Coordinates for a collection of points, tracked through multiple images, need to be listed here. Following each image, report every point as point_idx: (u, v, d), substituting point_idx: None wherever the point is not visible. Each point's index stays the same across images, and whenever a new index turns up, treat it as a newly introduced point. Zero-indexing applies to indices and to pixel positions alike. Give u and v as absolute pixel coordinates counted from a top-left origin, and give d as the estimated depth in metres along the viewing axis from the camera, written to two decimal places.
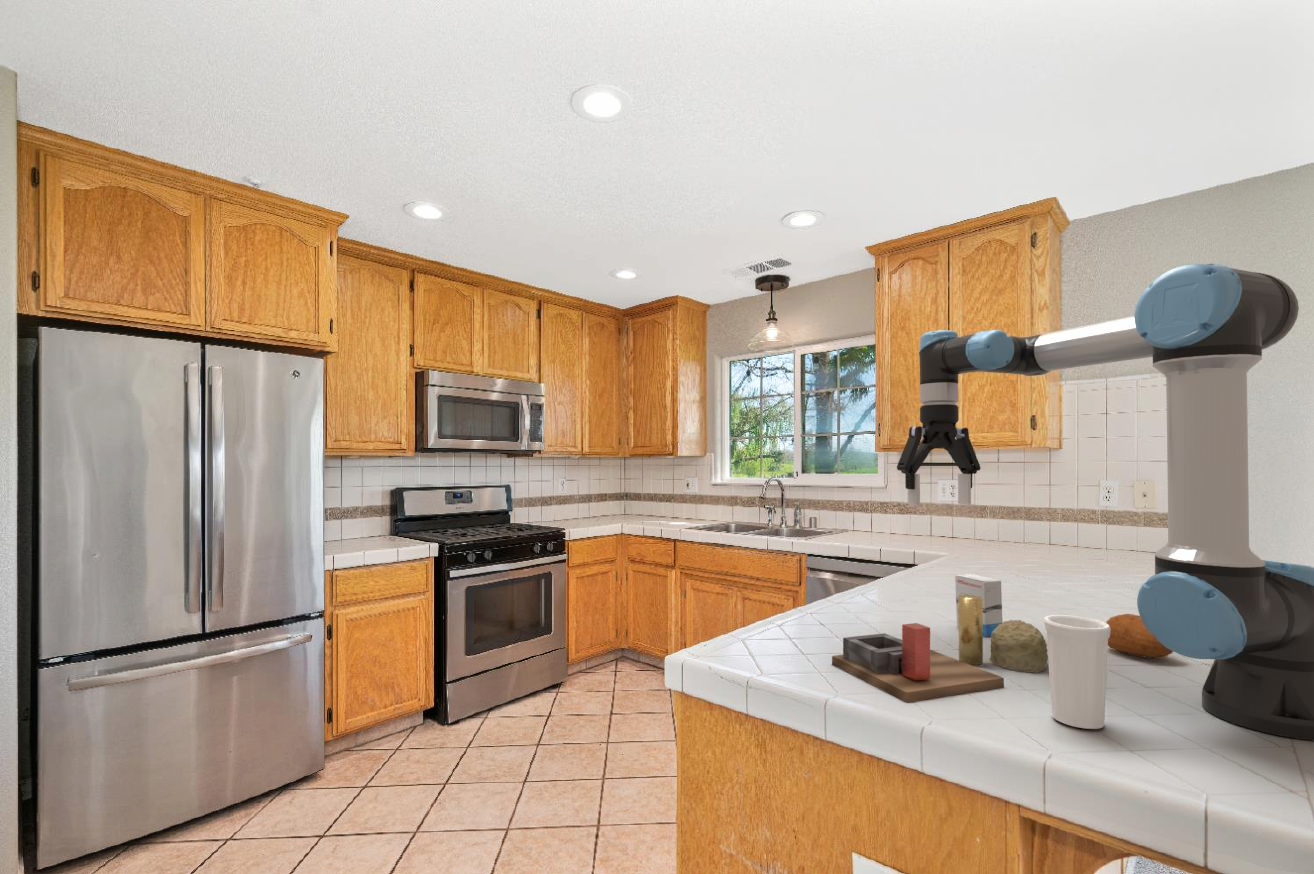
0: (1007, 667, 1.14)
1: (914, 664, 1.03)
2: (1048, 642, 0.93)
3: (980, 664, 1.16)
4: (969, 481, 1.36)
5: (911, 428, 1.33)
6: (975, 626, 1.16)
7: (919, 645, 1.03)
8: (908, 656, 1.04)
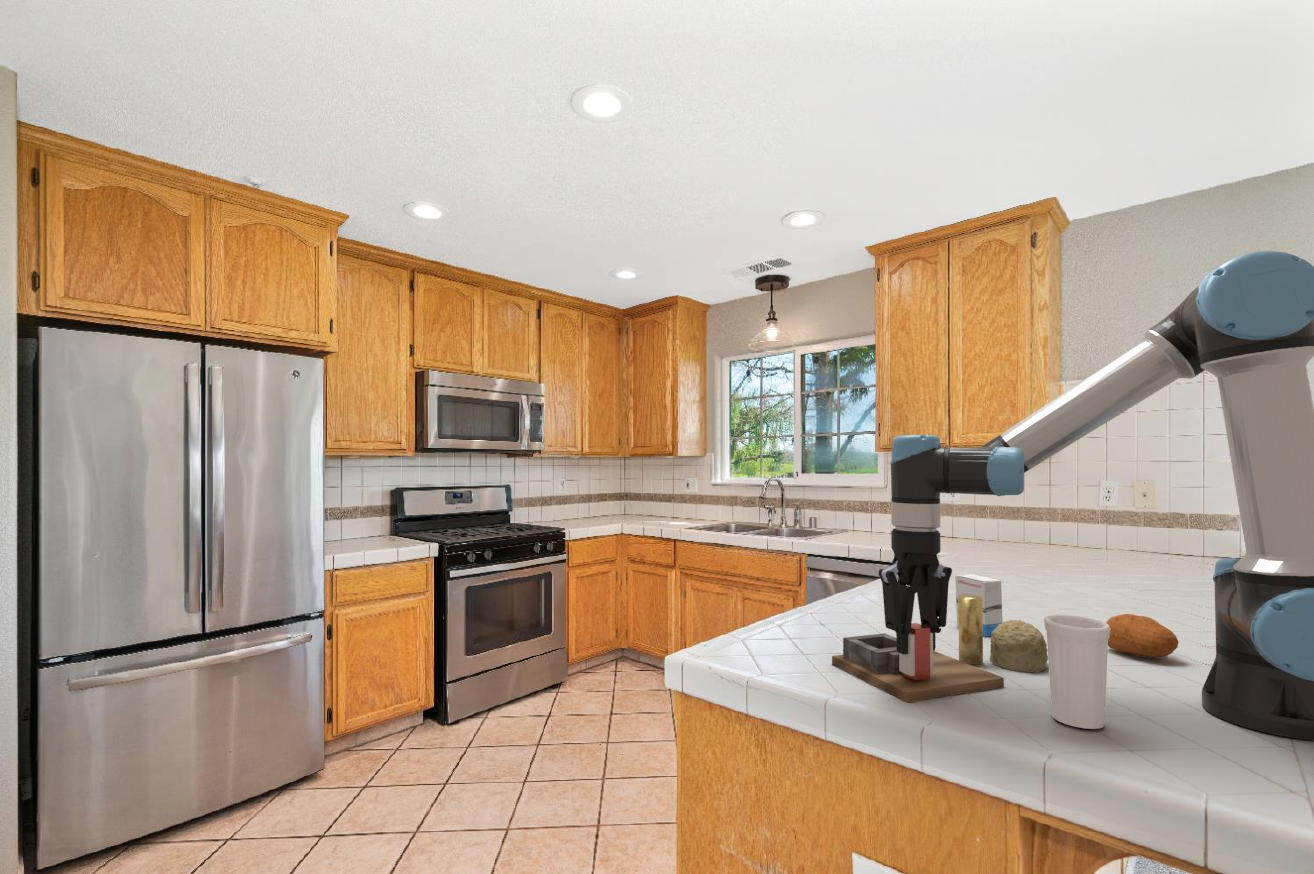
0: (1007, 667, 1.14)
1: None
2: (1048, 642, 0.93)
3: (980, 664, 1.16)
4: (931, 643, 1.04)
5: (880, 573, 1.03)
6: (975, 626, 1.16)
7: (919, 645, 1.03)
8: None
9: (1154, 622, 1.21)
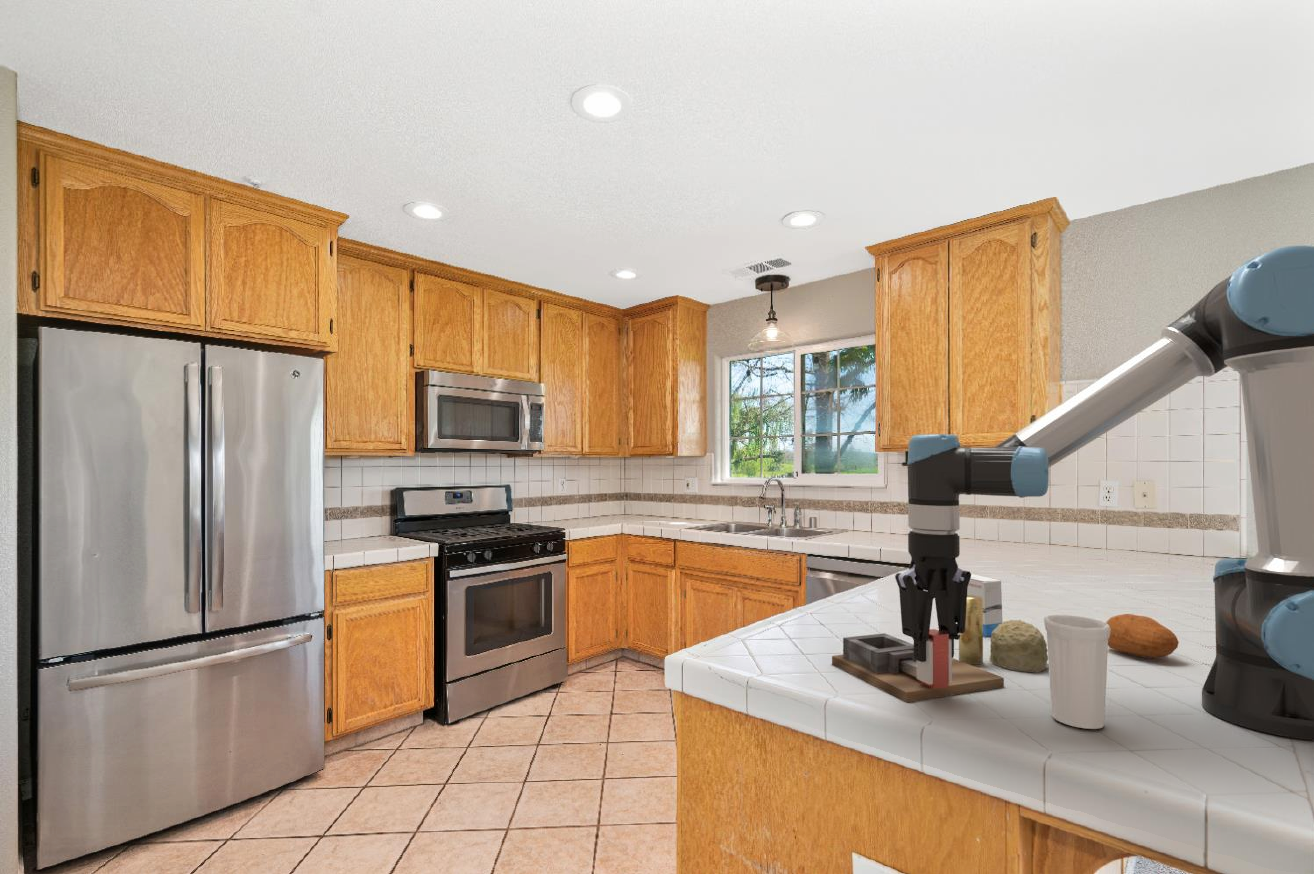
0: (1007, 667, 1.14)
1: None
2: (1048, 642, 0.93)
3: (980, 664, 1.16)
4: (949, 650, 1.00)
5: (897, 578, 0.99)
6: (975, 626, 1.16)
7: (938, 652, 0.99)
8: None
9: (1154, 622, 1.21)
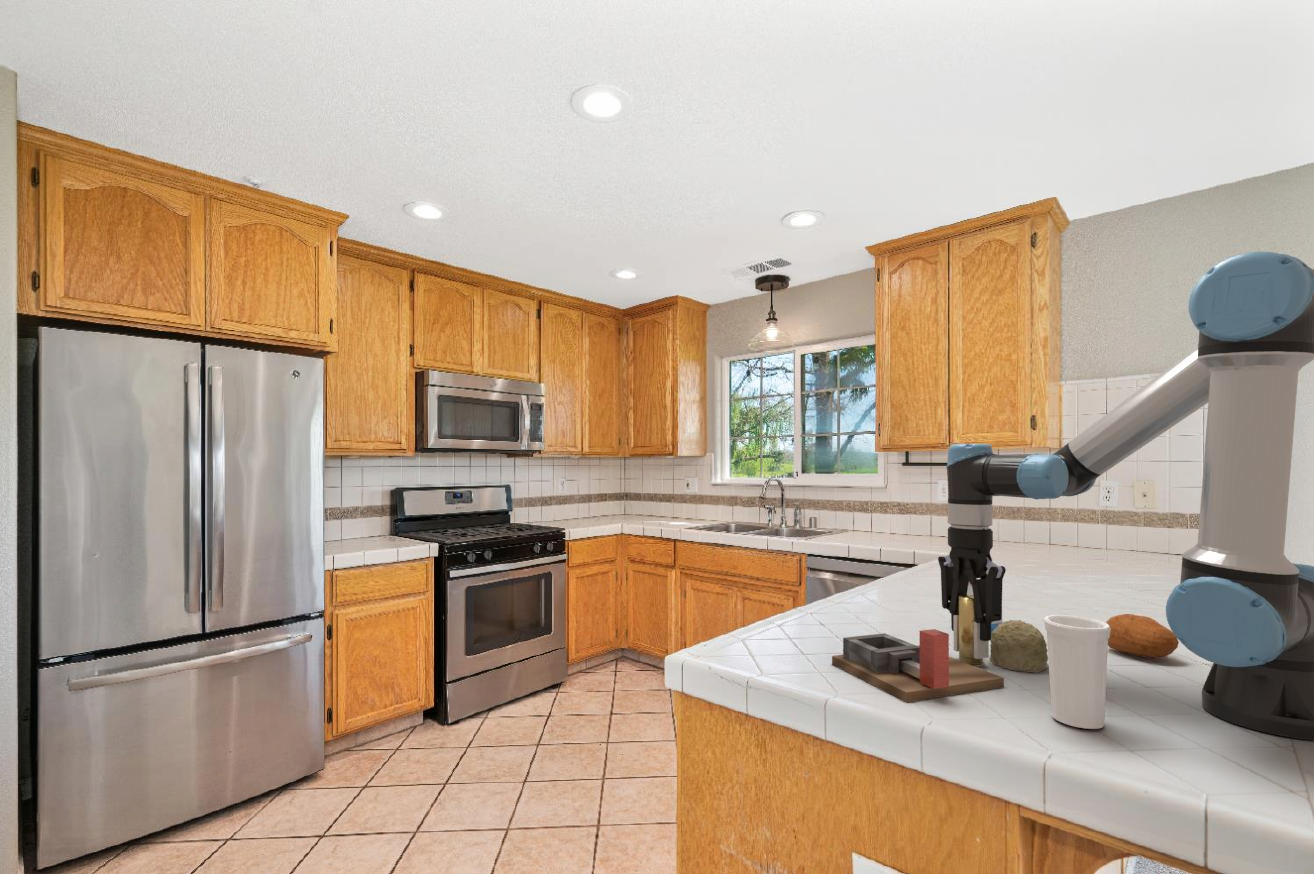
0: (1007, 667, 1.14)
1: (932, 672, 0.99)
2: (1048, 642, 0.93)
3: (980, 664, 1.16)
4: (975, 630, 1.15)
5: None
6: None
7: (938, 652, 0.99)
8: (926, 663, 1.00)
9: (1154, 622, 1.21)
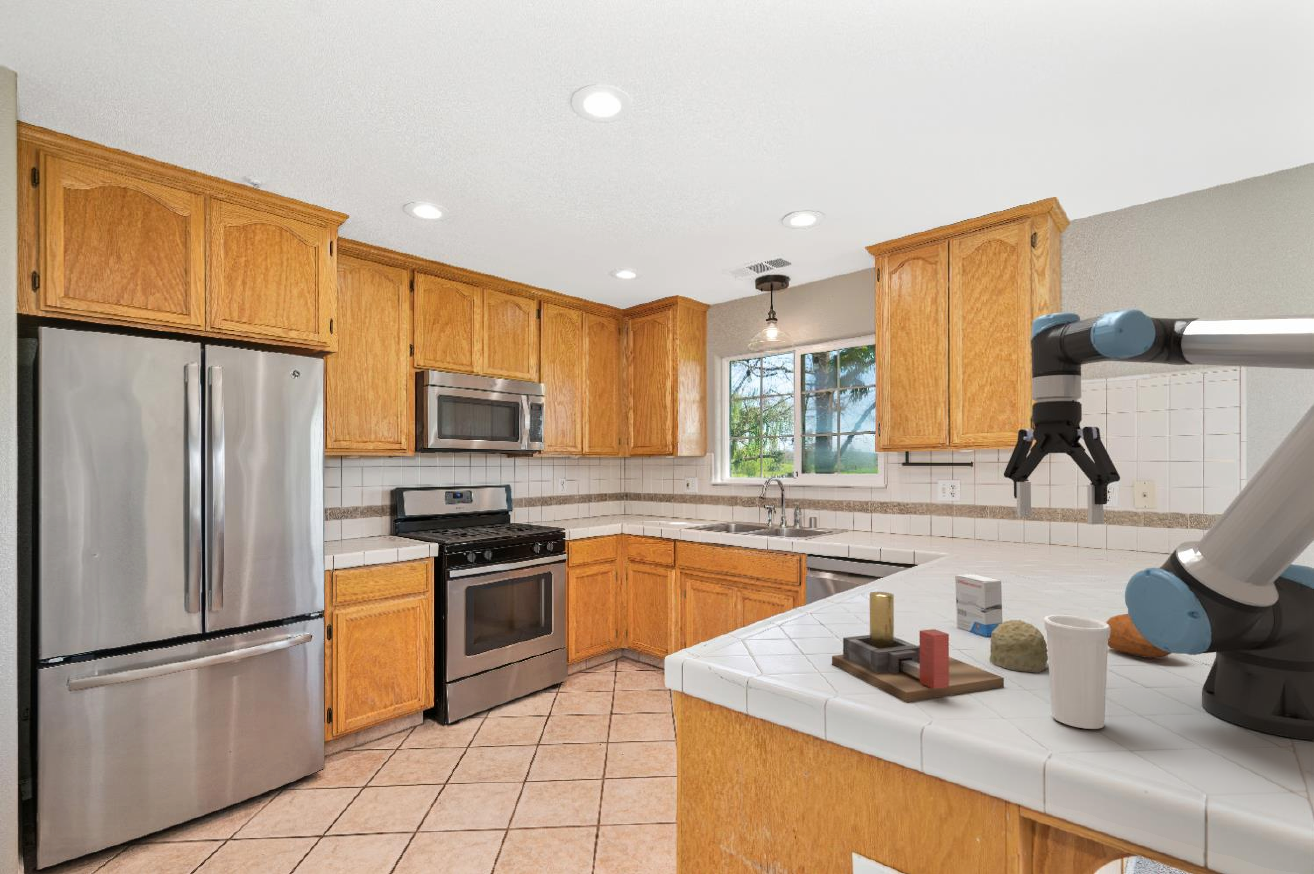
0: (1007, 667, 1.14)
1: (932, 672, 0.99)
2: (1048, 642, 0.93)
3: None
4: (1089, 494, 1.07)
5: None
6: (885, 624, 1.10)
7: (938, 652, 0.99)
8: (926, 663, 1.00)
9: None
